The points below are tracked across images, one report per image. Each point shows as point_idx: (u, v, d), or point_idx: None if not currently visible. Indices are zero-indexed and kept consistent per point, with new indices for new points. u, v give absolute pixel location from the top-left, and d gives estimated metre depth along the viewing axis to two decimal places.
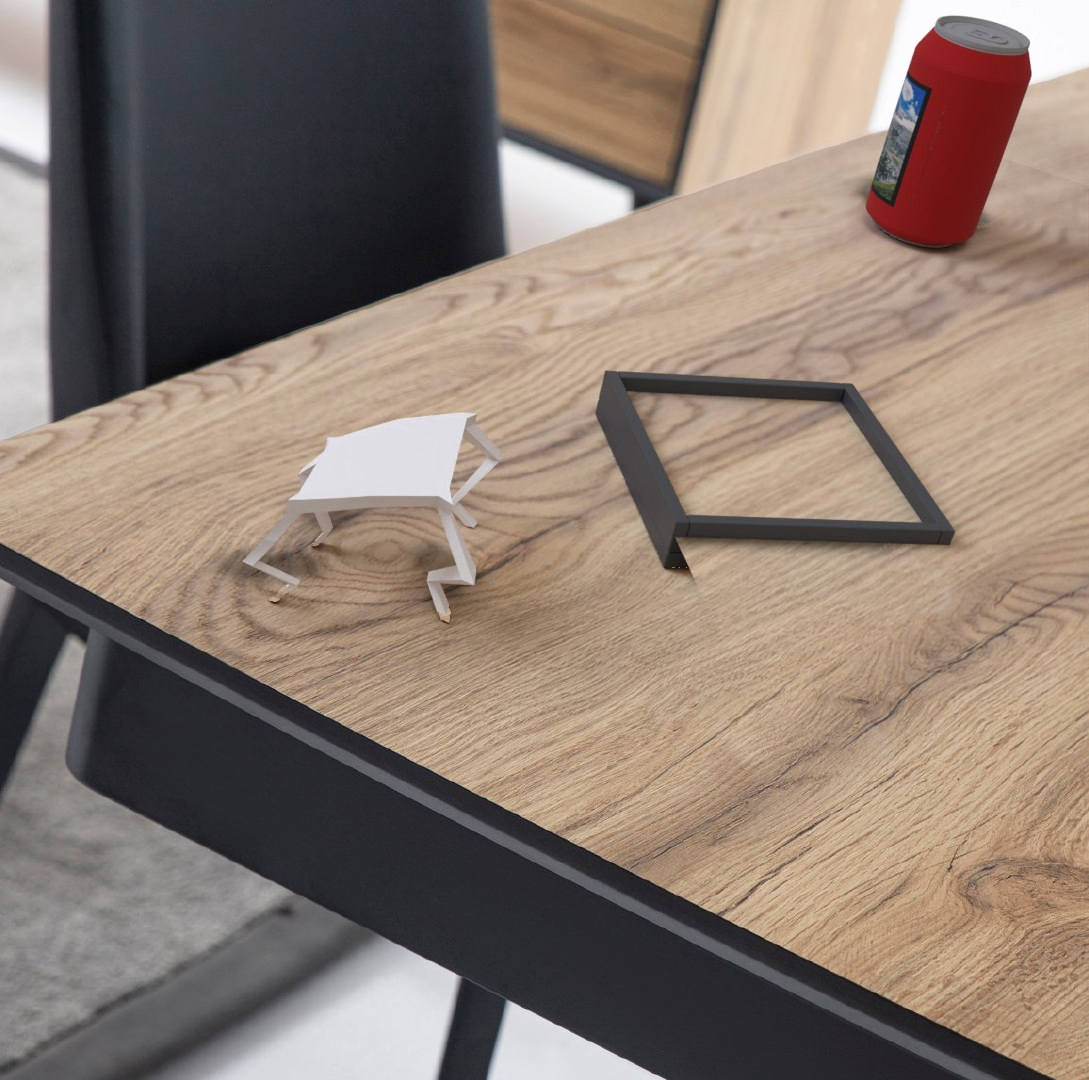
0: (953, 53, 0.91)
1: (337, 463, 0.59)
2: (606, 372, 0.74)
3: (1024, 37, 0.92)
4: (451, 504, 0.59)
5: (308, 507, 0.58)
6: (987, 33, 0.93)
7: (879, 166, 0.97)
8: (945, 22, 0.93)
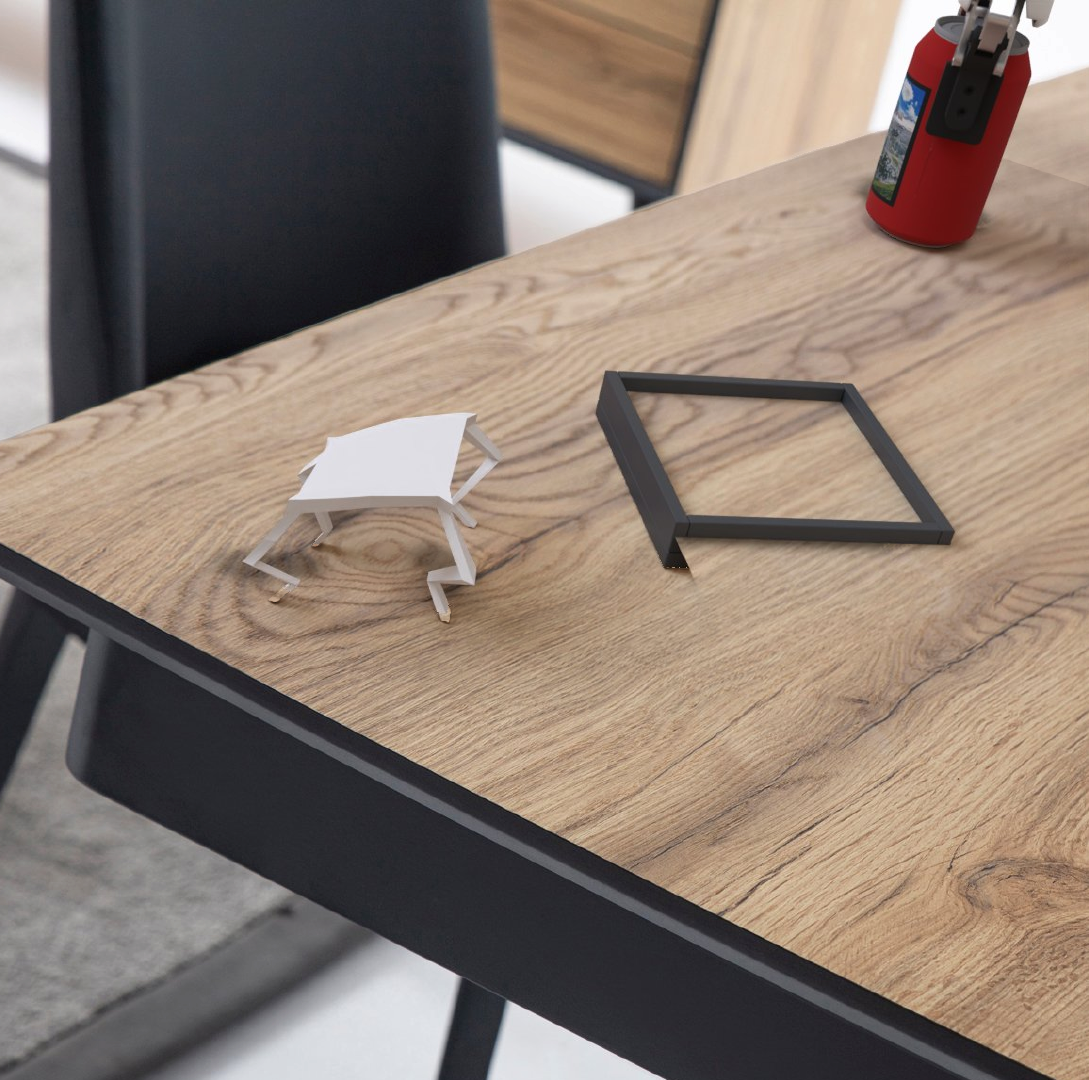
0: (953, 54, 0.91)
1: (337, 463, 0.59)
2: (606, 372, 0.74)
3: (1024, 37, 0.92)
4: (451, 504, 0.59)
5: (308, 507, 0.58)
6: None
7: (879, 166, 0.97)
8: (944, 22, 0.93)
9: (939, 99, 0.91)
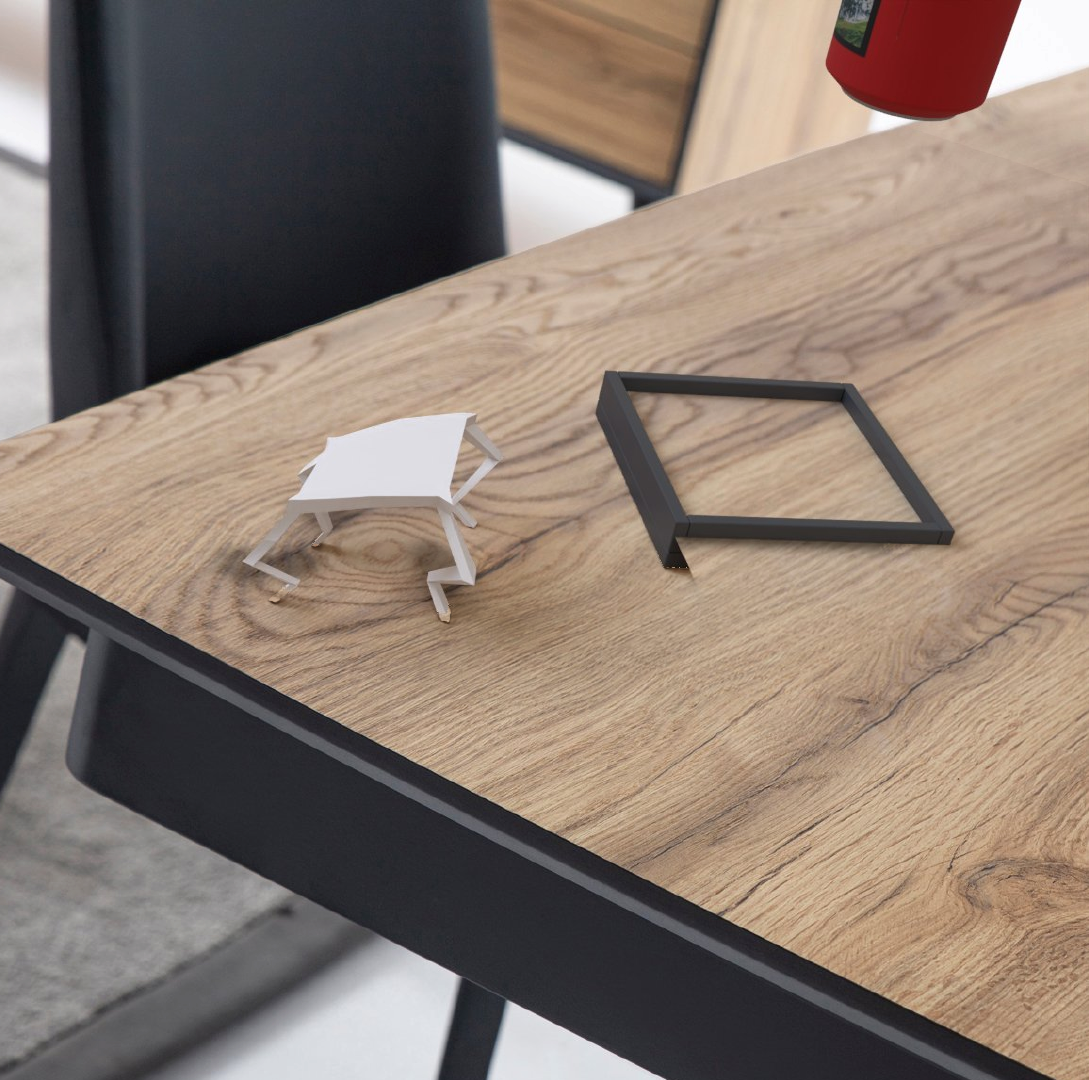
0: None
1: (337, 463, 0.59)
2: (606, 372, 0.74)
3: None
4: (451, 504, 0.59)
5: (308, 507, 0.58)
6: None
7: None
8: None
9: None
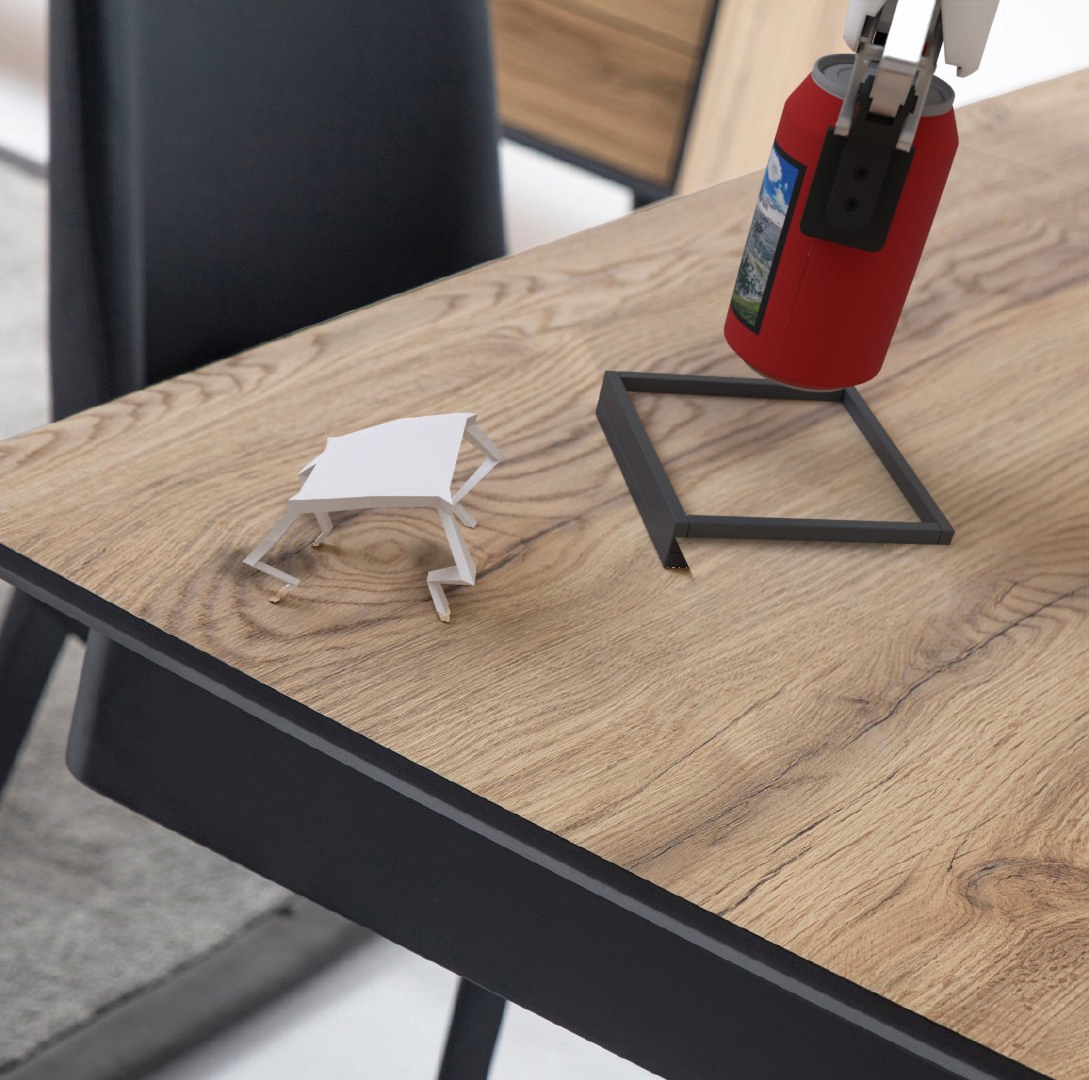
0: (837, 114, 0.60)
1: (337, 463, 0.59)
2: (606, 372, 0.74)
3: (947, 87, 0.61)
4: (451, 504, 0.59)
5: (308, 507, 0.58)
6: None
7: (739, 274, 0.66)
8: (829, 64, 0.62)
9: (818, 184, 0.60)
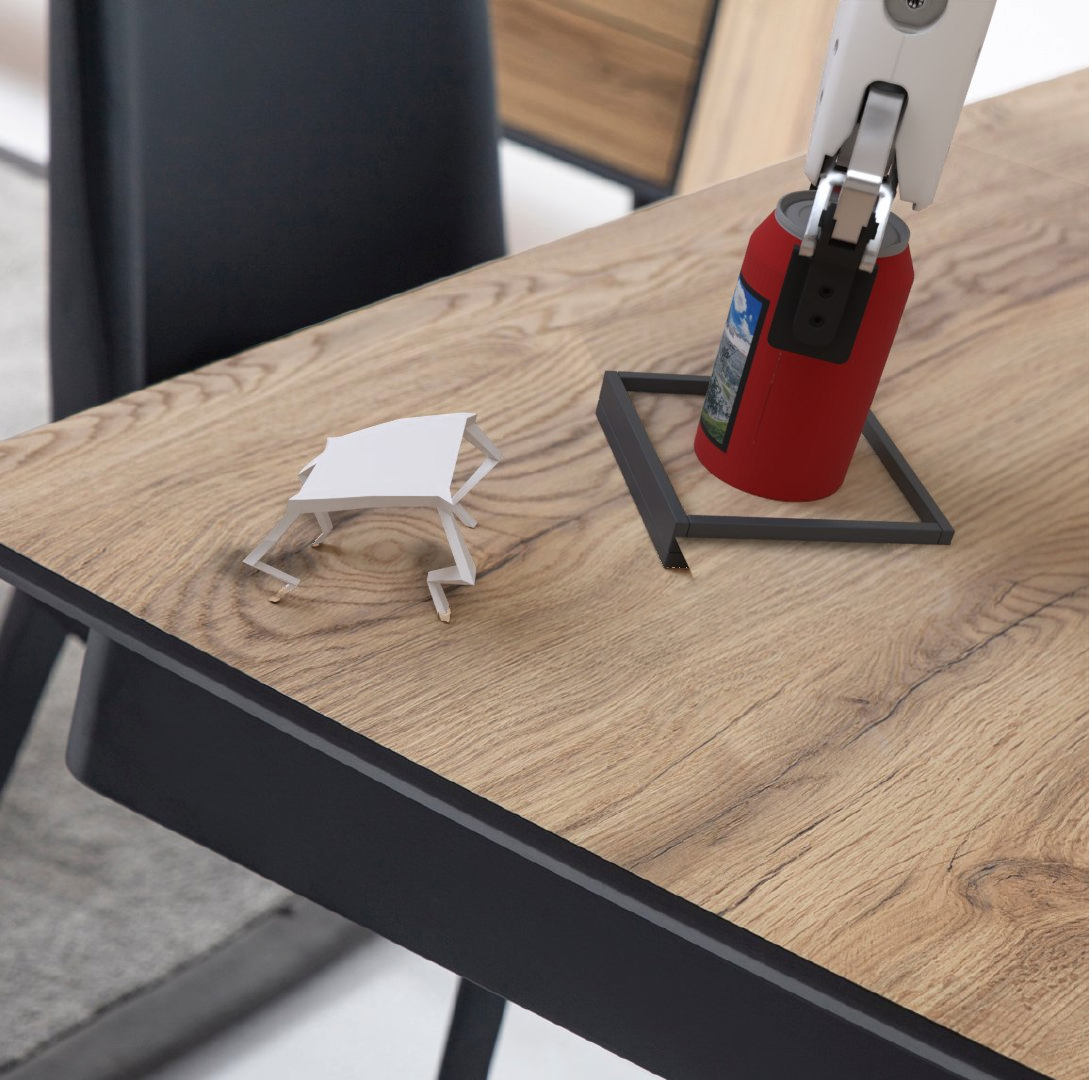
0: None
1: (337, 463, 0.59)
2: (606, 372, 0.74)
3: (903, 225, 0.65)
4: (451, 504, 0.59)
5: (308, 507, 0.58)
6: None
7: (708, 393, 0.69)
8: (792, 201, 0.66)
9: (785, 299, 0.61)
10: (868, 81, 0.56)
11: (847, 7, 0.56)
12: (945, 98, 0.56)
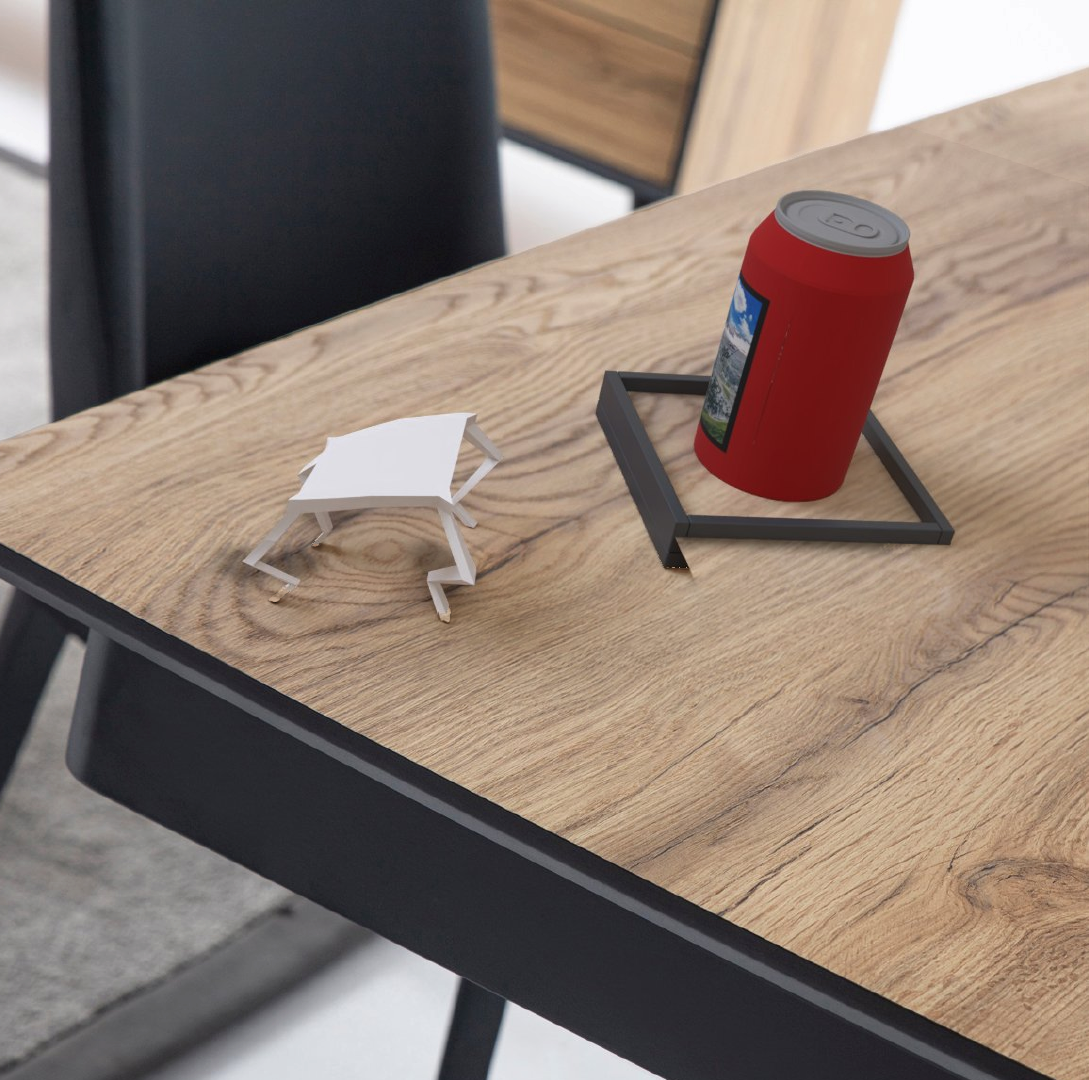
0: (798, 254, 0.63)
1: (337, 463, 0.59)
2: (606, 372, 0.74)
3: (903, 225, 0.65)
4: (451, 504, 0.59)
5: (308, 507, 0.58)
6: (850, 219, 0.65)
7: (708, 393, 0.69)
8: (792, 201, 0.66)
9: None
10: None
11: None
12: None
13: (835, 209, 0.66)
